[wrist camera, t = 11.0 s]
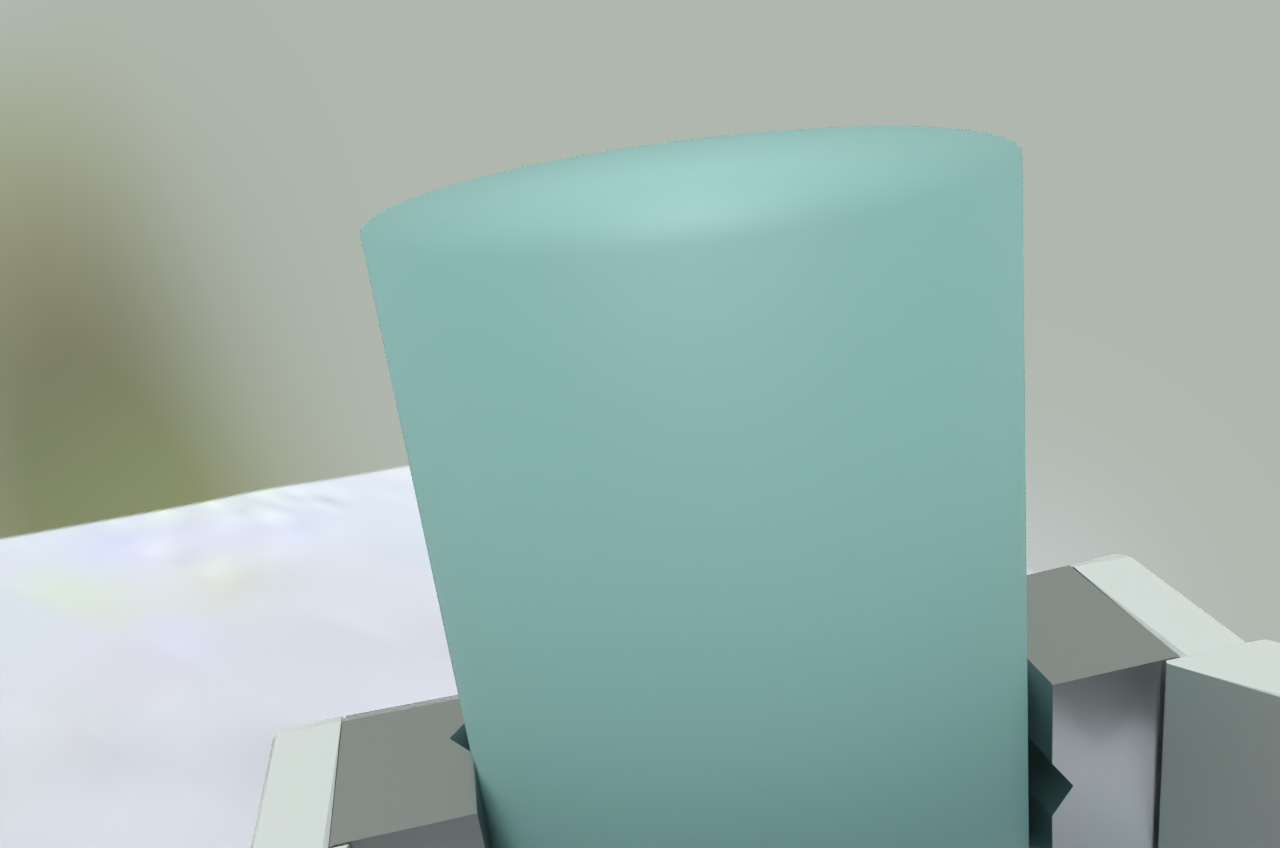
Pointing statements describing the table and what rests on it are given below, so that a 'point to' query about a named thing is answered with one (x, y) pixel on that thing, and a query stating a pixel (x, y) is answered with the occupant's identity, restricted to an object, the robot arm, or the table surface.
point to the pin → (727, 485)
